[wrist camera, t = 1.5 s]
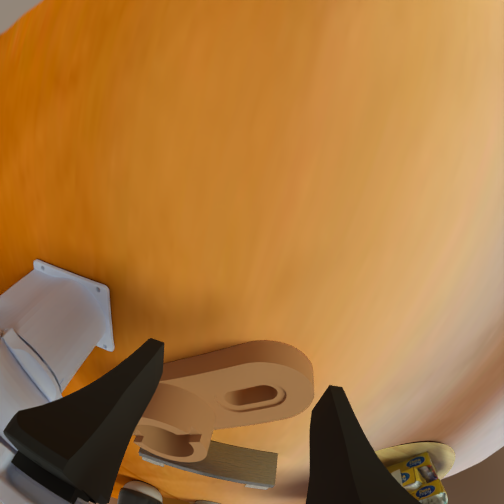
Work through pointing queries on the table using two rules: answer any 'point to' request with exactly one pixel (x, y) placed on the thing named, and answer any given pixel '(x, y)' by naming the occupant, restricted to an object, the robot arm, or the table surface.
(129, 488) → the grey white egg device
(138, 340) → the table surface
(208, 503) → the thermos bottle
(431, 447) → the stacked boxes on plate
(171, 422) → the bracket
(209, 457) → the bar
